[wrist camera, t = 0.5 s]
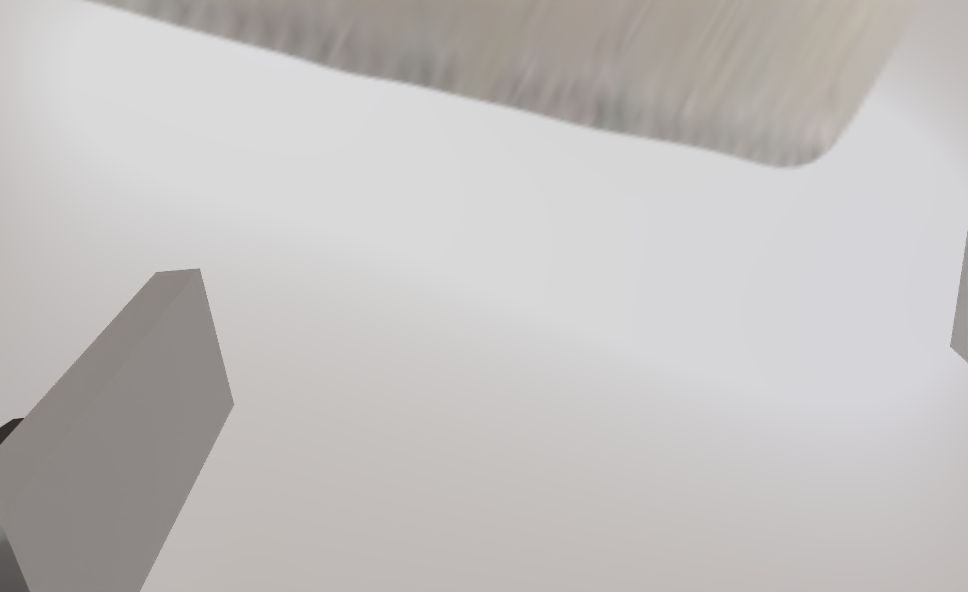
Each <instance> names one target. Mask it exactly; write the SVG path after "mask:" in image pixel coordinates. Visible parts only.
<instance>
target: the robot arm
mask: <svg viewBox="0 0 968 592" xmlns="http://www.w3.org/2000/svg"><path fill="white" fill-rule="evenodd" d="M950 347H952V348H953V349H954V350H955V351H956V352H957V353H958V354H959V355H960V356H961V357H962V358H963V359H965V361H967V362H968V233H967V239H966V246H965V253H964V260H963V266H962V272H961V279H960V285H959V293H958V298H957V306H956V312H955V318H954V325H953V332H952V338H951V345H950ZM233 406H234V403H233V399H232V395H231V391H230V387H229V383H228V379H227V375H226V371H225V367H224V363H223V359H222V355H221V351H220V347H219V343H218V339H217V335H216V331H215V327H214V323H213V319H212V316H211V312H210V307H209V304H208V299H207V295H206V291H205V287H204V284H203V280H202V276H201V272H200V269H188V270H177V271H165V272H156V273H155V274H154V275H153V276H152V278H151V279H150V280H149V281H148V282H147V283H146V284H145V285H144V286H143V288H142V289H141V290H140V291H139V292H138V293H137V294H136V295H135V296H134V297H133V299H132V300H131V301H130V302H129V303H128V304H127V305H126V306H125V307H124V309H123V310H122V311H121V312H120V313H119V314H118V315H117V316H116V318H114V320H113V321H112V322H111V323H110V324H109V325H108V326H107V327H106V328H105V330H104V331H103V332H102V333H101V334H100V335H99V336H98V337H97V338H96V340H95V341H94V342H93V343H92V344H91V345H90V346H89V347H88V348H87V350H86V351H85V352H84V353H83V354H82V355H81V356H80V357H79V358H78V360H77V361H76V362H75V363H74V364H73V365H72V366H71V367H70V368H69V369H68V370H67V372H66V373H65V374H64V375H63V376H62V377H61V378H60V379H59V380H58V382H57V383H56V384H55V385H54V386H53V387H52V388H51V389H50V391H48V393H47V394H46V395H45V396H44V397H43V398H42V399H41V400H40V401H39V403H38V404H37V405H36V406H35V407H34V408H33V409H32V410H31V411H30V413H29V414H28V415H27V416H26V417H25V418H19V419H13V420H11V421H10V422H8V423H6V424H5V425H3V426H2V427H0V592H140V590H141V588H142V586H143V584H144V582H145V580H146V578H147V576H148V574H149V572H150V570H151V568H152V566H153V564H154V562H155V560H156V558H157V556H158V554H159V552H160V550H161V548H162V546H163V544H164V542H165V540H166V538H167V536H168V534H169V532H170V530H171V529H172V526H173V525H174V523H175V521H176V518H177V516H178V514H179V512H180V511H181V509H182V506H183V505H184V503H185V501H186V499H187V496H188V495H189V493H190V491H191V489H192V487H193V485H194V483H195V481H196V479H197V476H198V475H199V473H200V471H201V469H202V467H203V465H204V463H205V461H206V459H207V457H208V455H209V453H210V451H211V449H212V447H213V445H214V443H215V441H216V439H217V437H218V435H219V433H220V431H221V429H222V427H223V425H224V423H225V421H226V419H227V417H228V415H229V413H230V412H231V409H232V408H233Z"/></svg>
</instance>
